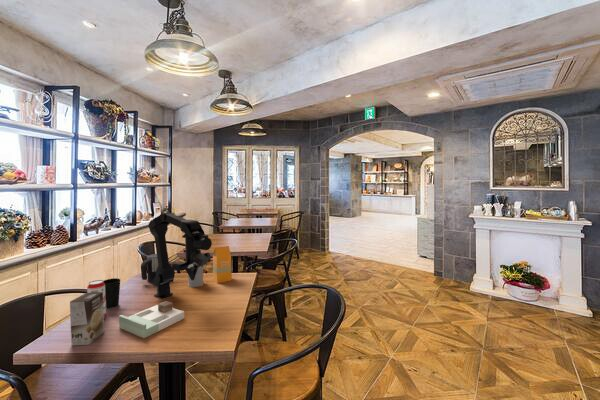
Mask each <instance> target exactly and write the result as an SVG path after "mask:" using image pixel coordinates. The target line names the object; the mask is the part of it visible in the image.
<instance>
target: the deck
mask: <svg viewBox="0 0 600 400" xmlns="http://www.w3.org/2000/svg"><path fill="white" fill-rule="evenodd" d="M184 319H185V311H184V310H180V309H178V308H174V307H173V309H172V310H170V311H168V312H166V313H163V312H160V311H158V304H156V305H154V306H151V307H149V308H146V309H144V310H141V311H139V312H136V313H134V314H132V315H129V316H126V315H123V314H120V315H118V327H119V329H121V330H124V331H126V332H128V333H131V334H134V335H135V336H137V337H140V338H142V339H146V338H148V337H150V336H151V335H153V334H156V333H157V332H159V331H162V330H163V329H166V328H167V327H169V326H171V325H174V324H176V323H178V322H180V321H181V320H184Z"/></svg>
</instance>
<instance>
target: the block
mask: <svg viewBox="0 0 600 400" xmlns="http://www.w3.org/2000/svg"><path fill="white" fill-rule="evenodd" d="M157 305H158V311H160V312H163V313H166V312H168V311H170V310H172V309H173V308H174V307H173V302H171V301H169V300H168V301H167V300H165V301H162V302H160V303H158V304H157Z"/></svg>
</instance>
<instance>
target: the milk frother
mask: <svg viewBox="0 0 600 400" xmlns="http://www.w3.org/2000/svg"><path fill="white" fill-rule="evenodd" d="M146 258H147V259H145V260H143V261H142V262H141V264H140V272H141V273H140V274H141V280H143V281H147V282H148V283H152V280H153V279H154V278H155V276H156V270H157V267H158V259H157V253H153V254H152V253H151V254H149V255H146Z"/></svg>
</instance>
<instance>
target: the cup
mask: <svg viewBox="0 0 600 400" xmlns="http://www.w3.org/2000/svg"><path fill="white" fill-rule="evenodd" d="M103 282H104V284H105V295H106V310H107V309H113V308H117V307H118V306H119V303H120V290H121V289H120V288H121V278H117V277H116V278H115V277H114V278H113V277H112V278H107V279H104V280H103Z"/></svg>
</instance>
